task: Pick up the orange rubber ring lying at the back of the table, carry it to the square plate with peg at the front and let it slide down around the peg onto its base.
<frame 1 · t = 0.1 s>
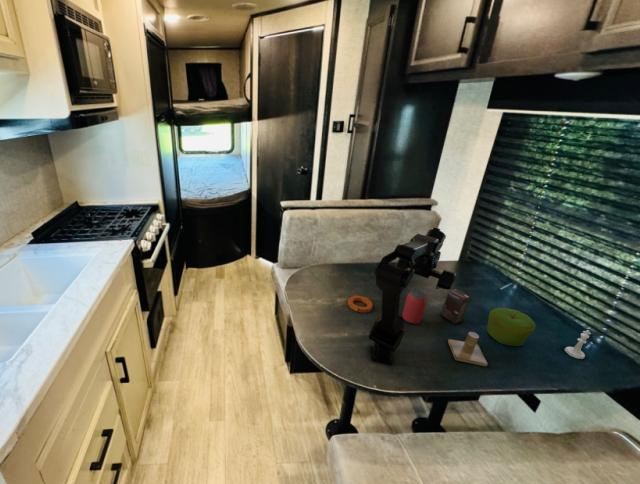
hand: (423, 283, 119), 15 cm above the table, tool tilted 35°, fingers open, 9 cm apart
ring: (359, 305, 131), on the table
chess piece: (574, 353, 106), on the table
square plate with peg: (466, 353, 107), on the table
beer can: (410, 319, 123), on the table
apple: (503, 339, 113), on the table
box: (450, 318, 123), on the table
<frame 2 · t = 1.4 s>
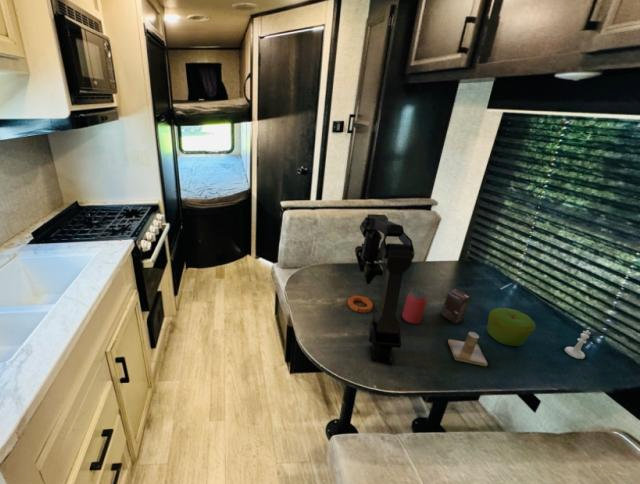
hand: (364, 277, 129), 11 cm above the table, tool pointing down, fingers open, 9 cm apart
nothing on the table moved.
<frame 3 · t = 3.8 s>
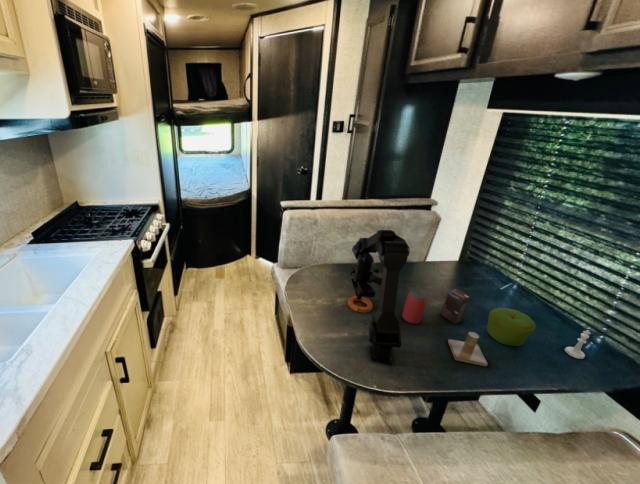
hand: (358, 298, 134), 1 cm above the table, tool pointing down, fingers closed on ring, 2 cm apart
ring: (359, 305, 131), on the table, touching gripper
everything else where it was.
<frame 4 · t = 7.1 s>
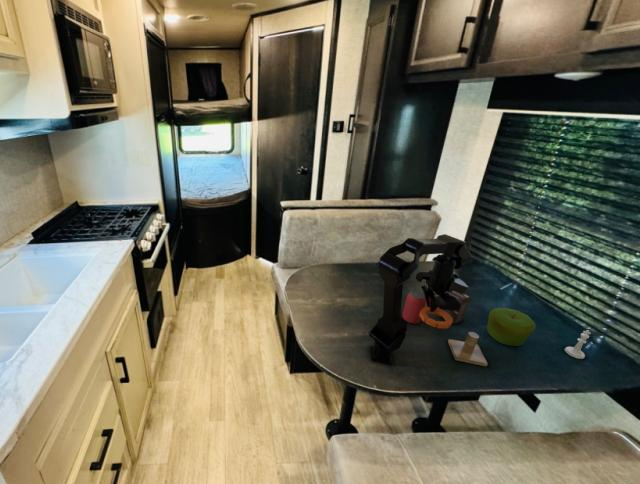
hand: (430, 309, 110), 12 cm above the table, tool pointing down, fingers closed on ring
ring: (435, 319, 107), point 11 cm above the table, touching gripper
everything else where it was.
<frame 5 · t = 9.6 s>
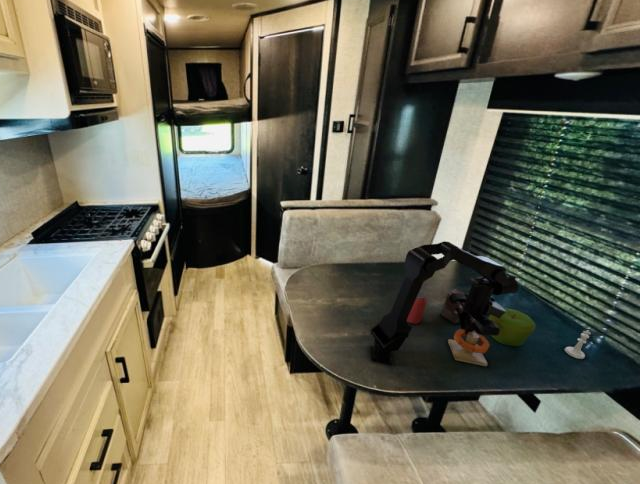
hand: (465, 332, 108), 6 cm above the table, tool pointing down, fingers closed on ring
ring: (470, 342, 105), point 5 cm above the table, touching gripper
everything else where it was.
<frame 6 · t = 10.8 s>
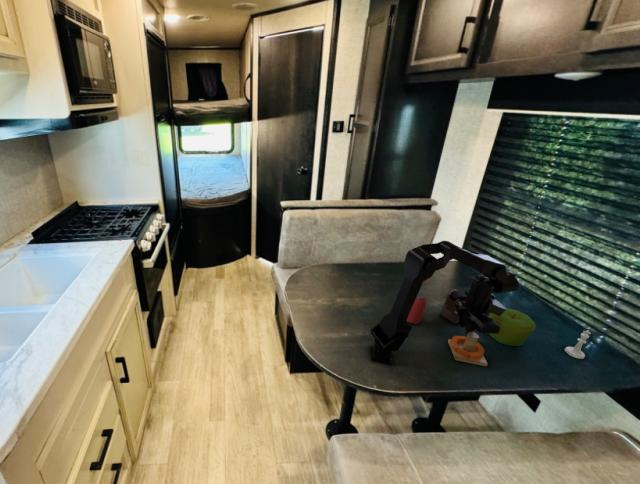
hand: (465, 330, 108), 6 cm above the table, tool pointing down, fingers open, 3 cm apart
ring: (466, 348, 107), point 1 cm above the table, touching square plate with peg
everything else where it was.
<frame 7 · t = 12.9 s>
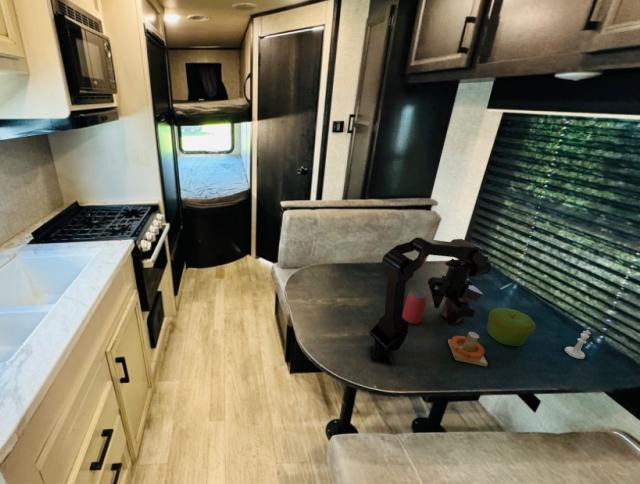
hand: (442, 316, 107), 11 cm above the table, tool pointing down, fingers open, 9 cm apart
nothing on the table moved.
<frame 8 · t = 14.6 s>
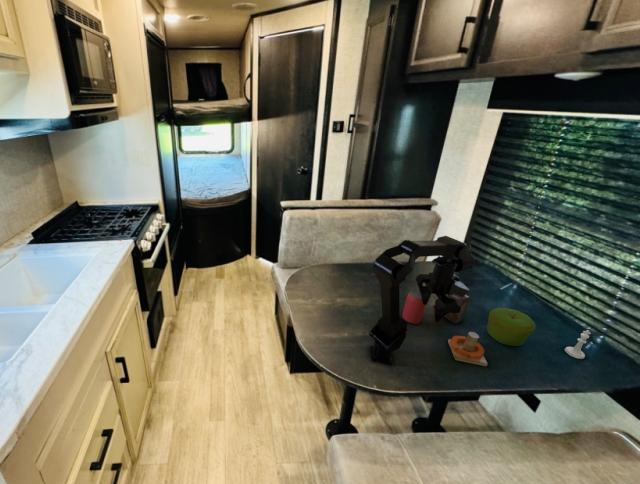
hand: (430, 312, 108), 12 cm above the table, tool pointing down, fingers open, 9 cm apart
nothing on the table moved.
at the end: ring 0.9 cm from the square plate with peg (horizontally); ring point 1.2 cm above the table; the gripper is holding nothing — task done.
